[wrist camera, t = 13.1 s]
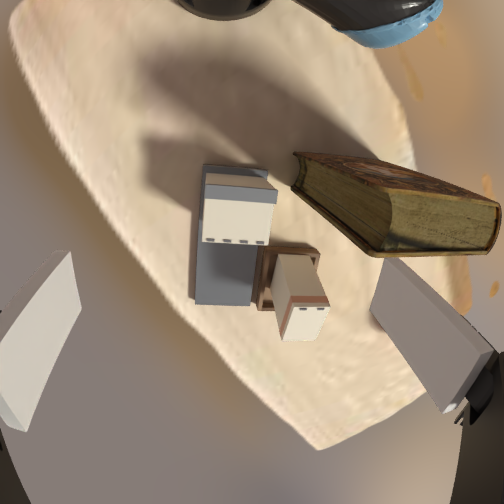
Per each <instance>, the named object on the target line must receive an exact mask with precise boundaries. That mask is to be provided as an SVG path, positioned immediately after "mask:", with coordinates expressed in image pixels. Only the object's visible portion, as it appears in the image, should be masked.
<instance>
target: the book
mask: <svg viewBox="0 0 504 504" xmlns="http://www.w3.org/2000/svg"><path fill="white" fill-rule="evenodd" d="M293 155H295V156H297V157H298V159H299V162H300V173H299V176H298V178H297V180H296V182H295V184H294V185H293V186H291V191H293V192H294V193H295V194H296V195H297V196H299V197H300V198H301V199H302V200H304V201H305V202H306V203H307V204H308V205H310V206H311V207H312V208H313V209H314V210H316V211H317V212H318V213H319V214H320V215H322V216H323V217H324V218H325V219H326V220H328V221H329V222H330V223H331V224H332V225H333V226H335V227H336V228H337V229H338V230H339V231H340V232H342V233H343V234H344V235H345V236H346V237H347V238H348V239H350V240H351V241H352V242H353V243H354V244H355V245H356V246H358V247H359V248H360V249H361V250H362V251H363V252H364V253H366V254H367V255H369V256H371V257H375V258H385V257H427V256H462V255H487V254H488V253H489V252H490V250H491V249H492V247H493V246H494V244H495V242H496V239H497V237H498V234H499V230H500V225H501V218H502V213H501V206H500V204H499V203H497V202H495V201H493V200H491V199H488V198H486V197H483V196H481V195H478V194H476V193H473V192H471V191H469V190H466V189H464V188H461V187H458V186H456V185H453V184H450V183H448V182H445V181H442V180H440V179H437V178H434V177H431V176H428V175H425V174H422V173H419V172H416V171H413V170H410V169H407V168H404V167H401V166H398V165H394V164H391V163H388V162H384V161H381V160H374V159H367V158H359V157H350V156H341V155H332V154H321V153H309V152H293Z"/></svg>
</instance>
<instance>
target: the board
mask: <svg viewBox="0 0 504 504" xmlns="http://www.w3.org/2000/svg"><path fill="white" fill-rule="evenodd" d="M206 173H217V174H230V175H242V176H253V177H263V178H265V179H266V180H267V176H268V170H264V169H255V168H244V167H233V166H220V165H206V164H203V175H202V187H201V200H200V214H199V229H198V246H197V265H196V289H195V304H199V305H226V306H250V302H251V295H252V288H253V281H254V273H255V266H256V258H257V251H258V245H251V244H233V243H215V242H202V222H203V207H204V195H205V182H206Z"/></svg>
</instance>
